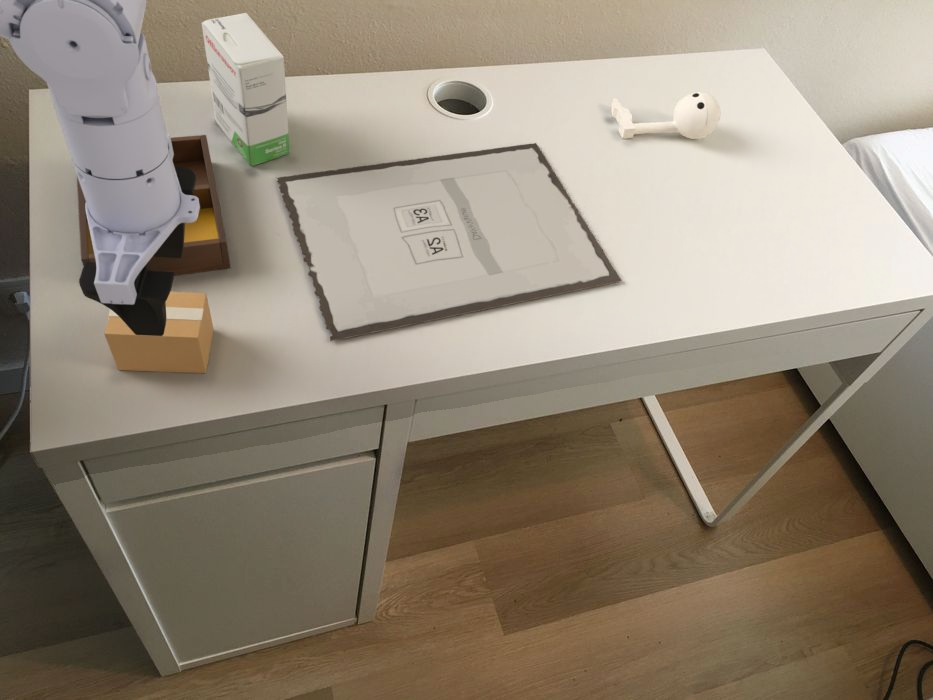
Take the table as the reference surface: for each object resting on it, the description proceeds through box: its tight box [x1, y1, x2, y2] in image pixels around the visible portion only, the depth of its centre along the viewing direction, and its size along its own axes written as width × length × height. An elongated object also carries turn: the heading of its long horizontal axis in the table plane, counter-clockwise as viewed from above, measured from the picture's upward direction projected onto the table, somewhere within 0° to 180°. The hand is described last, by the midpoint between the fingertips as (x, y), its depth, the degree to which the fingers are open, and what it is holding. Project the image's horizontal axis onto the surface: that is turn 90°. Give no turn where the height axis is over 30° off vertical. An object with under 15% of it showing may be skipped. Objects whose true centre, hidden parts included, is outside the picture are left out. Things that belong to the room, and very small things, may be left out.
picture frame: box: [276, 142, 623, 342], centre depth 78 cm, size 22×1×30 cm
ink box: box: [201, 12, 291, 167], centre depth 77 cm, size 9×5×12 cm, turn 35°
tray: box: [76, 134, 232, 276], centre depth 72 cm, size 12×15×4 cm
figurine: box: [610, 91, 721, 140], centre depth 92 cm, size 8×6×12 cm
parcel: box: [103, 291, 214, 374], centre depth 63 cm, size 7×5×5 cm, turn 93°
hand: (159, 291), depth 58 cm, fingers open, 7 cm apart
